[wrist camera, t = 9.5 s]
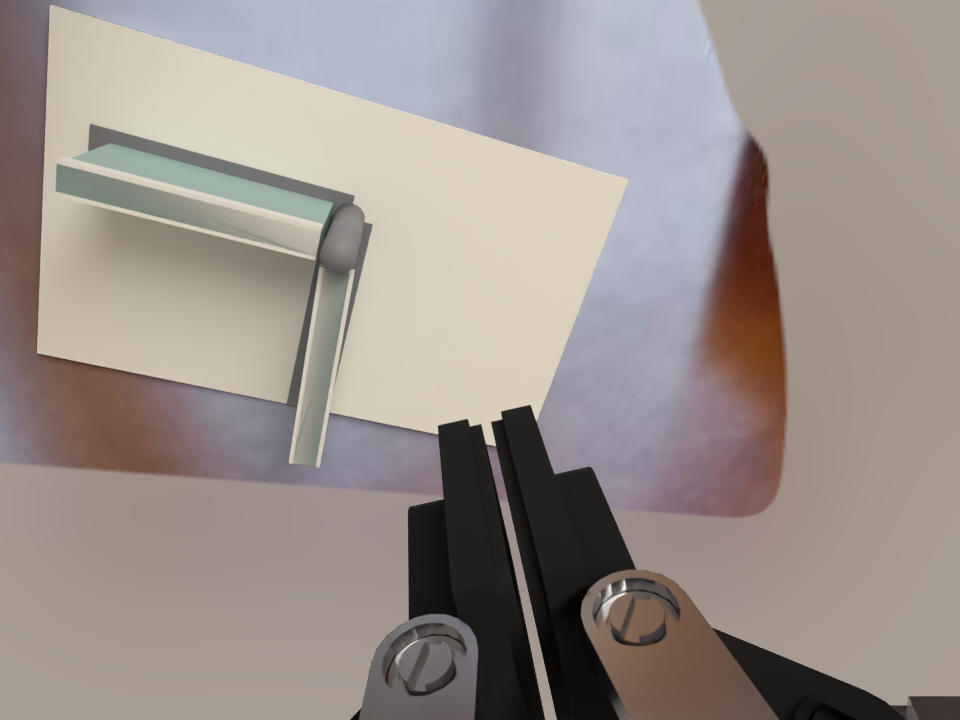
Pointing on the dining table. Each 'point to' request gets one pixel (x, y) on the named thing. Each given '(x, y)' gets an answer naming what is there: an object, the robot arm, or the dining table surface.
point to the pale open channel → (320, 365)
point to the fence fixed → (212, 203)
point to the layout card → (292, 279)
